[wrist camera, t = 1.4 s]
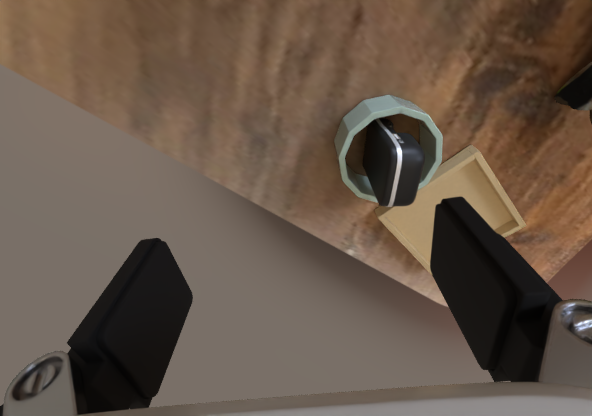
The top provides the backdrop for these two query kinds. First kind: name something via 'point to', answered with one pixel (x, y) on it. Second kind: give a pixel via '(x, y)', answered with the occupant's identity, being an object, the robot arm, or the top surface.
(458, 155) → the tray
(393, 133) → the battery charger
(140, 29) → the top surface
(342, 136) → the pen cup
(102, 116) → the top surface
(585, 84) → the sculpture
